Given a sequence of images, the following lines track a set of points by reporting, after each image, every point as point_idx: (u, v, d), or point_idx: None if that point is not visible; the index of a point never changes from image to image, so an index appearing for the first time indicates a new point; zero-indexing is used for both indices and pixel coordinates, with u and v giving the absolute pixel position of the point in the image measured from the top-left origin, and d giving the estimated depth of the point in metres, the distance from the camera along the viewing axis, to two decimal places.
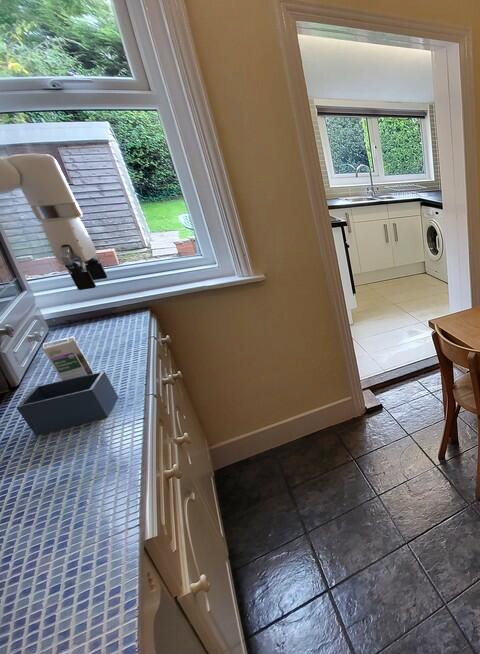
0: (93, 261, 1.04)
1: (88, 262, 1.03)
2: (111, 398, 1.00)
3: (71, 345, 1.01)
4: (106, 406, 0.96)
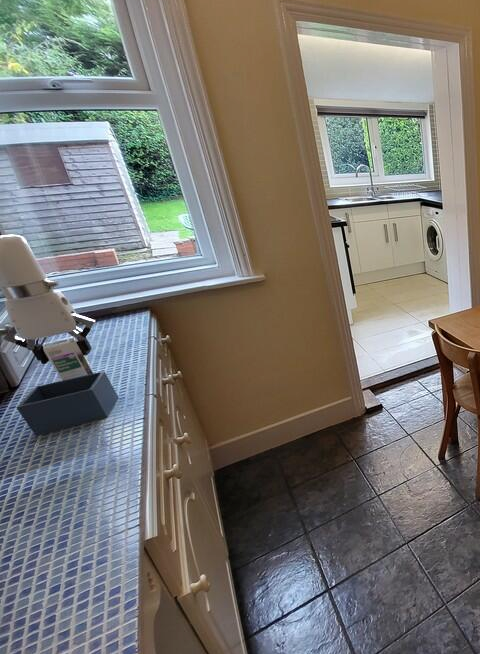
0: None
1: None
2: (111, 398, 1.00)
3: (72, 345, 1.01)
4: (106, 406, 0.96)
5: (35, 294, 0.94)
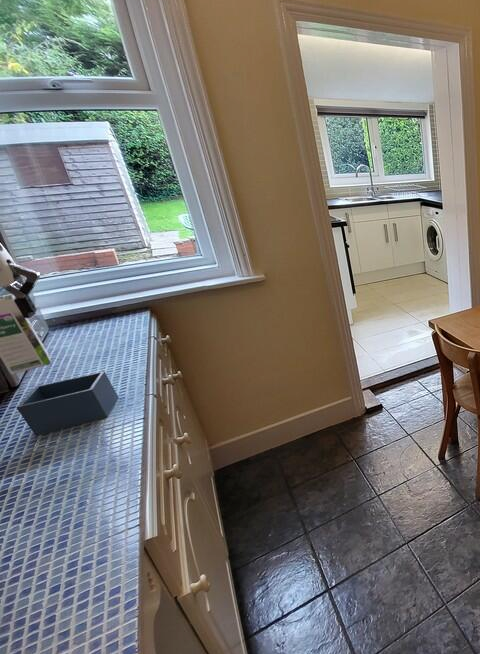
0: None
1: None
2: (111, 398, 1.00)
3: (8, 304, 0.78)
4: (106, 406, 0.96)
5: None
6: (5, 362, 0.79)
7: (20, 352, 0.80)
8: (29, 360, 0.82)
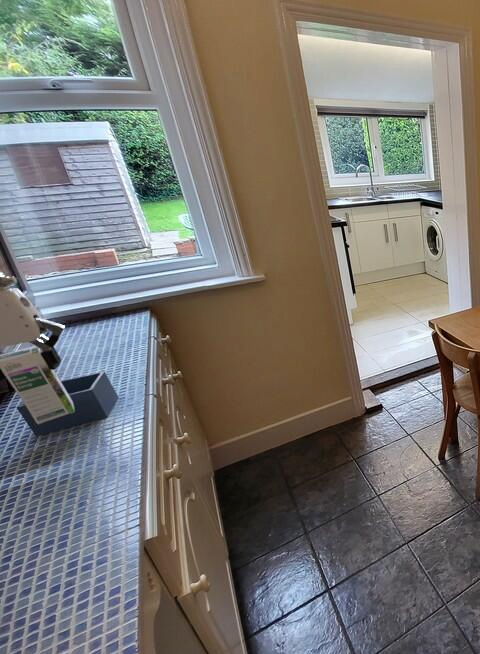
0: None
1: None
2: (111, 398, 1.00)
3: (35, 357, 0.80)
4: (106, 406, 0.96)
5: None
6: (32, 413, 0.82)
7: (46, 402, 0.83)
8: (54, 409, 0.84)
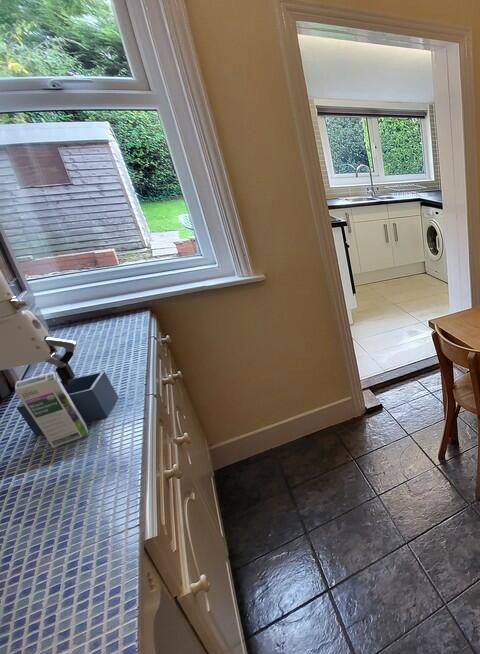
0: None
1: None
2: (111, 398, 1.00)
3: (51, 384, 0.83)
4: (106, 406, 0.96)
5: None
6: (47, 437, 0.85)
7: (61, 427, 0.86)
8: (69, 433, 0.87)
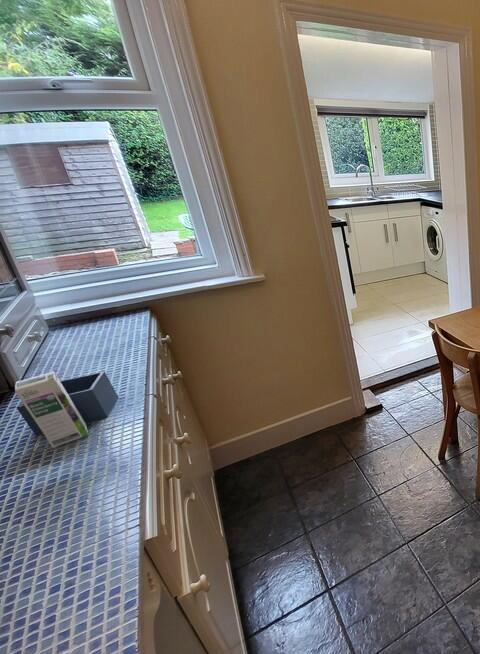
0: None
1: None
2: (111, 398, 1.00)
3: (51, 384, 0.83)
4: (106, 406, 0.96)
5: None
6: (47, 437, 0.85)
7: (61, 427, 0.86)
8: (69, 433, 0.87)
